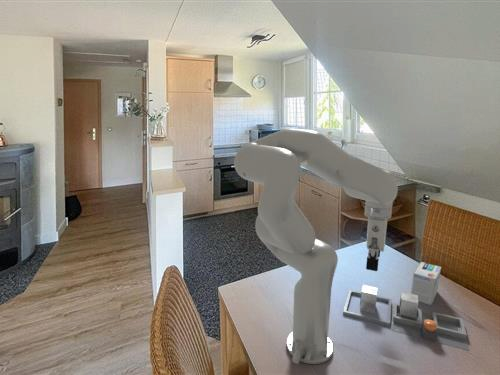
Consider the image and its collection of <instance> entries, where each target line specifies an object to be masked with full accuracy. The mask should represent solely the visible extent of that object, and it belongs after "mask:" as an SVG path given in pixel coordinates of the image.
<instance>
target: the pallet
mask: <svg viewBox="0 0 500 375" xmlns="http://www.w3.org/2000/svg"><path fill="white" fill-rule="evenodd" d="M399 305H400V303H395V302H394V303H393V306H392V308H393V309H392V323H391V324H392V330H391V331H392V332H395V333H400V334H402V335H403V334H404V335H407V336H411V337H415V338H418V339H422V340H426V341H429V342H430V341H431V342H433V343H434V342H435V343H437V344H442V345H444V346H450V347H453V348H456V349H461V350H464V351H468V352H469V351H470V348H469V343H468V340H467V337H468V335H467V331H466V327H465V324H464V319H463V318H462V317H461V318H460V317H455V316H452V315H449V314H443V313H439V312H435V311H432V314H429V313H423V312H422V308H418V309H417V316H416V321H414V320H410V319H406V318H402V317H399ZM426 319H429V320H433V321H434V322H436V323H437V329H436V331H435V332H431V331H428V330H426V329H425V328H424V321H425V320H426Z"/></svg>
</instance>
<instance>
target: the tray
mask: <svg viewBox="0 0 500 375" xmlns="http://www.w3.org/2000/svg"><path fill="white" fill-rule="evenodd" d="M352 295H354V296H359V297H361V291H357V290H352V289H349V290H348V294H347V297H346V300H345V304H344V307H343V311H342V315H344V316H349V317H351V318H355V319H360V320H362V321H367V322H370V323H371V322H372V323H375V324H378V325H382V326H386V327H391V319H392V318H391V316H392V300H393V299H392V298H388V297H383V296H381V295H377V299H376V301H380V302H384V303H388V307H387V319H386V320H384V319H379V318H376V317H372V316H368V315H364V314H362V313H361V314H360V313H356V312H352V311H348V309H349V308H348V307H349V303H350V301H351V298H352Z"/></svg>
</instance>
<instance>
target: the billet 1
mask: <svg viewBox="0 0 500 375" xmlns="http://www.w3.org/2000/svg"><path fill="white" fill-rule="evenodd" d="M378 289H379V288H378V287H375V286H371V285H367V284H362V288H361V290H360V292H361V296H360V299H359V302H360V303H359V311H362V312H367V313H369V314H373V315H375V314H376V307H377V300H376V299H377V296H378Z"/></svg>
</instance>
